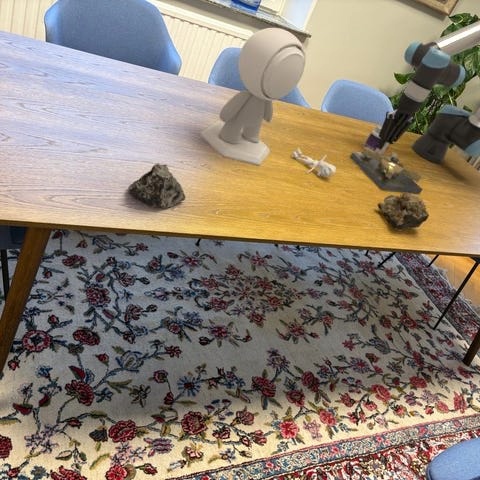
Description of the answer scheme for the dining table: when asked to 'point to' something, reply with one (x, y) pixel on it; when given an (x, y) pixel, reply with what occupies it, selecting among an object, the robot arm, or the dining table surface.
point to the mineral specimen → (404, 211)
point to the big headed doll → (257, 94)
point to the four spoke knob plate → (391, 165)
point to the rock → (158, 188)
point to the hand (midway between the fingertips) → (376, 156)
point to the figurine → (316, 164)
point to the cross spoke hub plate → (379, 178)
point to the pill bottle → (373, 139)
